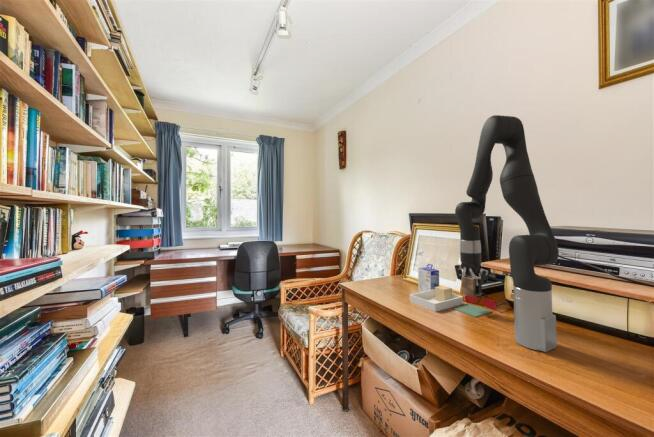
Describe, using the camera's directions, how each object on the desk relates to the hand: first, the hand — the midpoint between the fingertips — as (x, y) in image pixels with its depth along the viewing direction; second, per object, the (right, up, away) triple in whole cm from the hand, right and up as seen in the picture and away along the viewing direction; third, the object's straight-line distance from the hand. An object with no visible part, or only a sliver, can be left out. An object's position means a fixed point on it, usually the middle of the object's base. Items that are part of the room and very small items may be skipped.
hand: (471, 292), depth 107 cm
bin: (-10, -8, +11) cm, 17 cm away
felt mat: (0, -8, 0) cm, 8 cm away
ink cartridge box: (-7, -8, +26) cm, 28 cm away
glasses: (+13, -8, +8) cm, 17 cm away
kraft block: (-6, -7, +13) cm, 16 cm away
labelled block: (0, -1, 0) cm, 1 cm away
